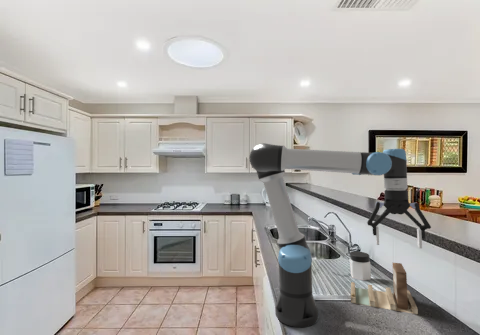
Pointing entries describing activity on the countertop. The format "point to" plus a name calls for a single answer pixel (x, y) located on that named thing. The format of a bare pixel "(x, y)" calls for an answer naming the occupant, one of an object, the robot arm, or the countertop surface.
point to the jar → (360, 266)
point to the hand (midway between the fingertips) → (398, 245)
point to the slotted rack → (380, 299)
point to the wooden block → (400, 285)
